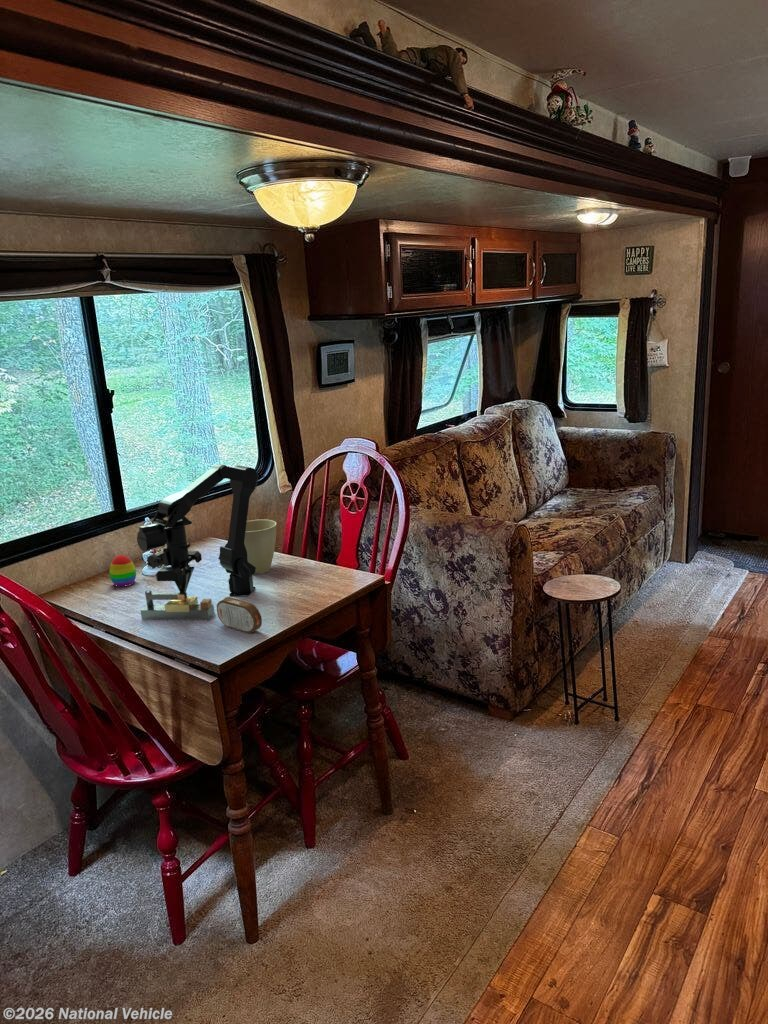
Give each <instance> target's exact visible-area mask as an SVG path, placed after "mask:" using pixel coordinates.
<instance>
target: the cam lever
mask: <svg viewBox="0 0 768 1024" xmlns="http://www.w3.org/2000/svg"><path fill="white" fill-rule="evenodd" d="M144 595H145V602H146V605H147V608H152V607H154V605H153V604H154V601H160V600H161V601H167V600H168V601H170V600H185V599H186V598H187V596H188V593H187V591H186V592H180V591H179V592H153V591H152V590H146V591H144Z"/></svg>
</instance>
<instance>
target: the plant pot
mask: <svg viewBox="0 0 768 1024" xmlns="http://www.w3.org/2000/svg"><path fill="white" fill-rule="evenodd" d="M277 525H278V524H277V522H276V521H275V520H271V519H252V520H247V524H246V532H245V541H244V544H245V547H246V550H247V554H248V562H249V563H250V564H252V565H253V566H254V567H256V570H255V574H254V575H258V574H265V573H268V572H269V571H270V570H271V567H272V563H273V558H274V553H275V547H276V539H277Z"/></svg>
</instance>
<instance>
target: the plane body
mask: <svg viewBox="0 0 768 1024" xmlns="http://www.w3.org/2000/svg"><path fill="white" fill-rule="evenodd" d="M165 604H166V603H164V604H163V603H160V604H159V603H158V604H156V603H153V605H154V607H152V608H147V604H146V605H145V606H144V607H143V608H142V609H140V615H141V621H210V620H211V618H213V616H214V615H215V606H214V604H213V602H212V598H203V599H202V600H201V601H200V602H199V603H197V604H196V605H195V606H194V607H193V609H192V610H191V611H190V612H166V611H165Z"/></svg>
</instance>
